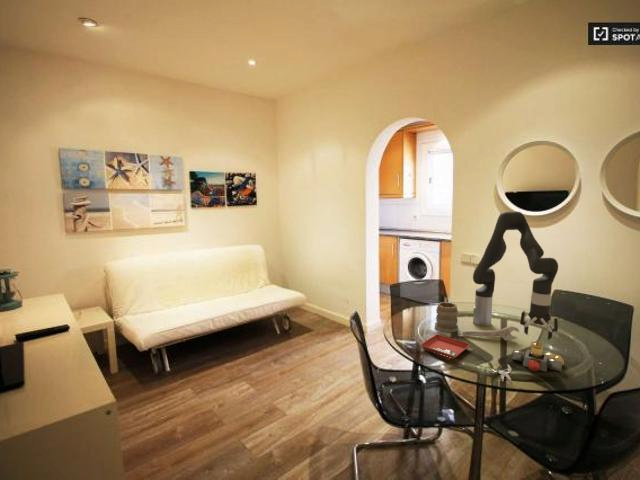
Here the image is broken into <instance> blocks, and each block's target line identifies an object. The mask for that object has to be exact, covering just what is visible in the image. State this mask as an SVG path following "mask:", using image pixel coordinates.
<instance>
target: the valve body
mask: <svg viewBox="0 0 640 480" xmlns="http://www.w3.org/2000/svg"><path fill="white" fill-rule="evenodd" d="M511 359H512V360H514V361H518V362H522V367H526V368H528V369H529V370H530V371H533V372H537V371H541V372H544V373H545V372H546V373H547V371H548V369H549V370H553V371H557V372H560V373H561V372H562V367H563V366H562V361H558V360H554V359H550V358H548V355H547V354H544V353H543V352H542V360H541V359H537V358H533V357H531V349H526V352H524V351H520V350H517V349H512V353H511Z"/></svg>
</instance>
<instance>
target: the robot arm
mask: <svg viewBox="0 0 640 480" xmlns="http://www.w3.org/2000/svg"><path fill="white" fill-rule="evenodd" d="M507 231H519V233H520V241H519V246H520V249H521V250H522V251H523V254H524V255H525V256H526V259H527V263H528V266H529V269H530V271H531V273H534V274H536V275H541V276H540V277H537V278H534V280H533V282H532V291H531V295H530V306H529V308H530V309H529V312H527V311H526V310H522V311H521V314H520V320H519V324H520V325H522V326H523V327H524V328H523V330H524V331H523V333H524V334H525V335H527V336H528V334H529V327H530V325H532V323H533V324H535V325H540V326H545V328H546V329H547V330H548V333H547V340H549V341H550V340H551V339H552V338H553V333H554V332H555V333H556V332H558V330H559V317H558V316H555V317H554V316H551V304H552V287H553V286H552V285H553V283H554V281H555V278H556V275H557V274H558V271H559V263H558V261H557V260H556V259H555V258H553V257H543V256H544V253H545V251H544V250H543V247H542V246H541V245H540V244H539V242H538V241H537V240H536V238H535V235H533V232H532V230H531V228H530V225H529V223H528V221H527V219H526V217H525V215H524V214H523V213H522V212H520V211H503V212H502V213H500V214H499V216H498V218H497V220H496V224H495V227H494V229H493V233H492V234H491V237H490V239H489V241H488V244H487V245H486V248H485V251H484V253H483V255H482V257H481V260H480V261H479V263H478V265H477V266H476V267H475V269H474V271H473V274H472V280H473V282H474V283H475V285H482V286H481V287H479V288H477V289H475V294H474V295H475V296H474V297H475V299H474V307H473V317H472V323H473V324H475V325H479V326H483V327H488V326H489V327H490V326H491V325H492V315H493V297H494V291H495V283H496V272H495V271H494V269H493V268H491V267H493V266H494V265H496V264H497V263H499V262H500V261H501V260H502V259H503V257H504V255H505V253H506V251H507V244H506V241H505V239H504V236H505V235H504V234H505V233H506V232H507ZM527 316H528V317H529V319H528V321H525V319H526V317H527ZM549 321H552V322H553V327H552V325H551V324H550V322H549Z"/></svg>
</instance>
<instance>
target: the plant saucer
mask: <svg viewBox="0 0 640 480" xmlns="http://www.w3.org/2000/svg"><path fill="white" fill-rule="evenodd" d="M470 345H471V344H470V343H468V342H465V341H461V340H458V339H455V338H451V337H448V336H445V335H441V334H437V333H436V334H435V335H433V336H431V337H430V338H428V339H427V340H424V341H423V342H422V343H421V344H420V346H421V347H422V349H424V351H426V350H427V351H426V352H429V351H431V352H430V353H432V352H435V353H438V354H442V355H445V356H448V357H451V358H455V359H456V358H457V357H458V356H459V355H461V354H462V353H463V352H464V351H465V350H467V349H468V348H469V347H470ZM433 348H435V349H436V348H440V349H442V350H446V349H447V350H451V351H453V352H454V353H456V354H457V355H456V356H453V355H450V354H447V353H444V352H441V351H438V350H435V349H433ZM435 353H434V354H435ZM438 354H437V355H438Z"/></svg>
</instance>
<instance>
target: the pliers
mask: <svg viewBox="0 0 640 480" xmlns="http://www.w3.org/2000/svg"><path fill="white" fill-rule="evenodd" d="M485 364H487V365H489V366H490V364H489V363H488V362H486V363H485ZM487 365H486V366H487ZM505 370H508V371H510V372H512V367H511V366H510V364H507V369H503V370H502V371H501V370H499V371H500V372H499V371H498V373H499V374H501V375H500V376H501V377H500V380H501V379H502V380H501V382H505V381H504V380H507V381H508V383H512V378H511V377H510V374H507V373H505V372H506V371H505ZM503 371H504V372H503ZM504 377H506V378H504Z"/></svg>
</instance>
